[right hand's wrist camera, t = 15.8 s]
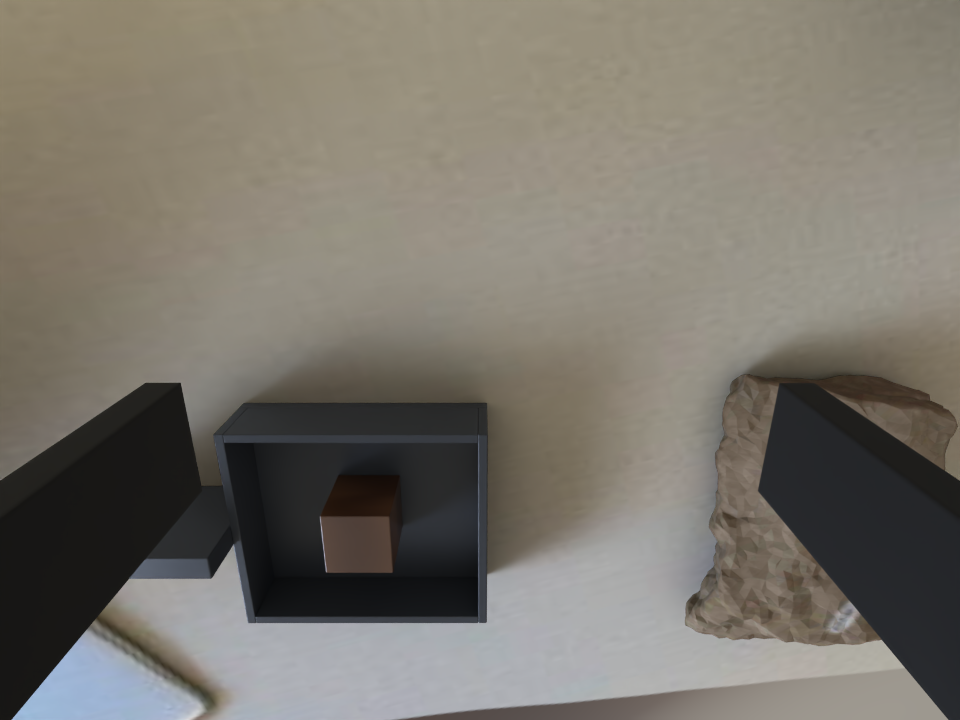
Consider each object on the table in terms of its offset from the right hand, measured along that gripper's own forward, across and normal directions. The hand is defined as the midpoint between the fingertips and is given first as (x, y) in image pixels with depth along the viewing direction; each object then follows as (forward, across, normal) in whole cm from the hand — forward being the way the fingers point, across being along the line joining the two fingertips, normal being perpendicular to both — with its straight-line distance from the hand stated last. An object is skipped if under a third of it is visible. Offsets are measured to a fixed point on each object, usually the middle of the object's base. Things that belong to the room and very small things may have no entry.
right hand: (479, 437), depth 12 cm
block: (+24, +8, +18) cm, 31 cm away
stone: (+25, -23, +18) cm, 38 cm away
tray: (+25, +13, +18) cm, 33 cm away
